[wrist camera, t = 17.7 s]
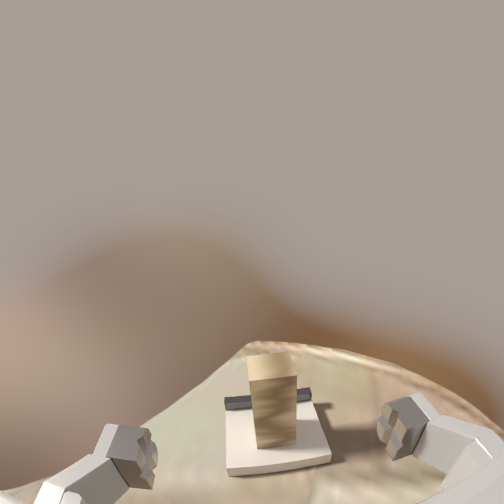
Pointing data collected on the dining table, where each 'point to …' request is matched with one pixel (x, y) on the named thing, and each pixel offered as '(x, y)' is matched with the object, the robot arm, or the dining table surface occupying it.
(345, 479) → the dining table surface
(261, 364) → the oak block
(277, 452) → the dock
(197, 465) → the dining table surface
